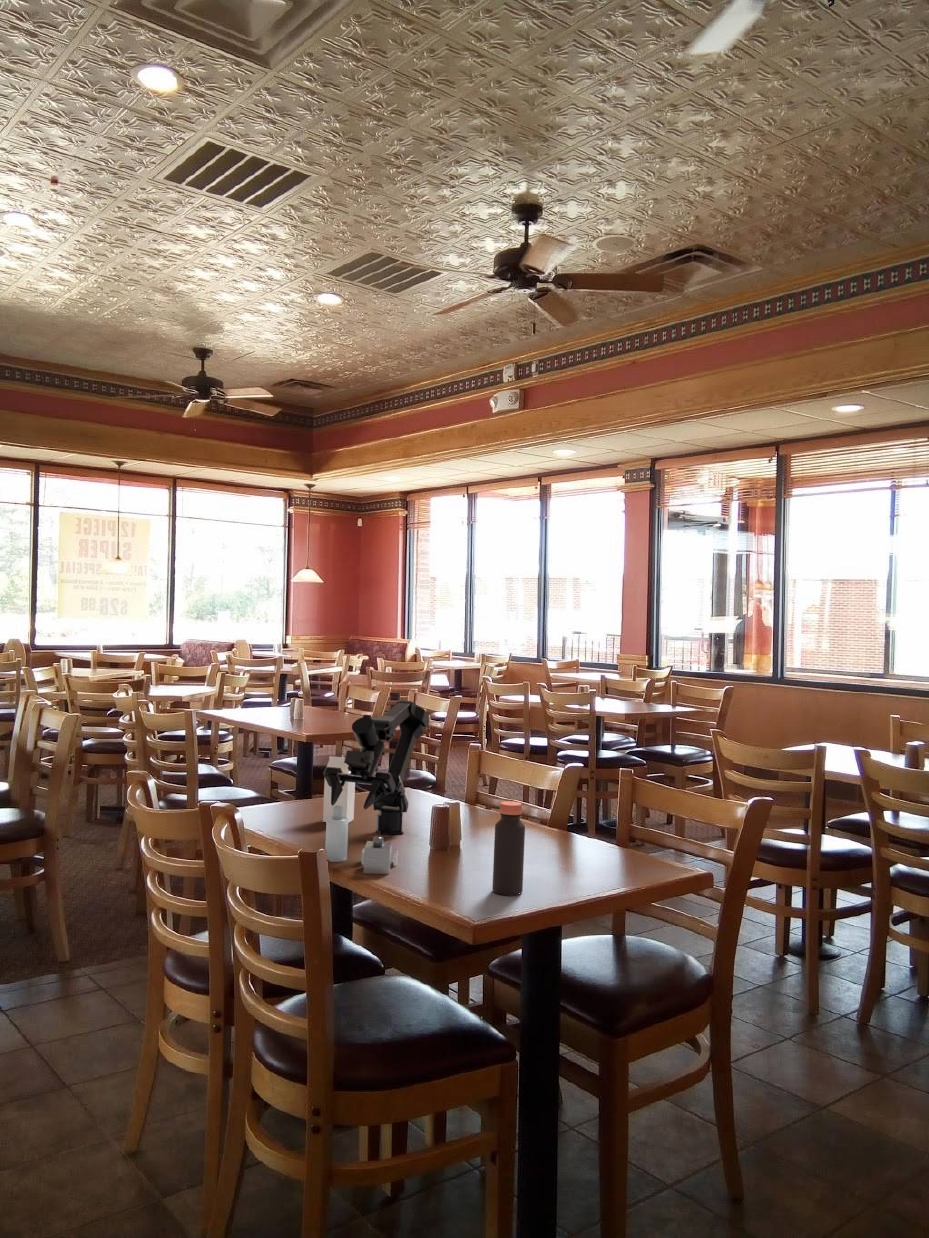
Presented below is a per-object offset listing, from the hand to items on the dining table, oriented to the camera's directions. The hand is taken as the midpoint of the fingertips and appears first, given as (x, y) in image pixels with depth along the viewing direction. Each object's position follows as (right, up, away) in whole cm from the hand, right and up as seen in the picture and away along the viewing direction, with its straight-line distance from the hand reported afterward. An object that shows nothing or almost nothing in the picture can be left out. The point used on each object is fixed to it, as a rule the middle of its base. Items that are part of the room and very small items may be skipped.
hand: (348, 806), depth 243 cm
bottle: (+39, -14, -28) cm, 50 cm away
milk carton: (-7, -12, +37) cm, 40 cm away
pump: (-2, -12, -5) cm, 13 cm away
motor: (+9, -12, -12) cm, 19 cm away
